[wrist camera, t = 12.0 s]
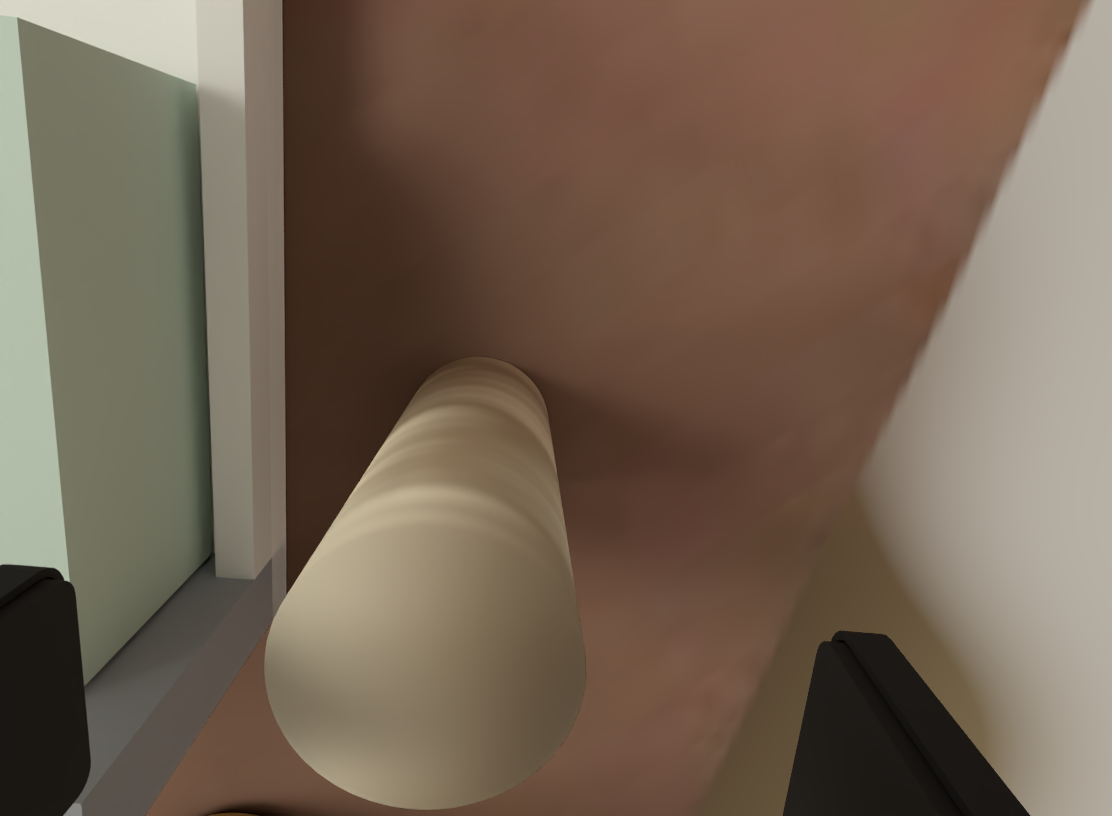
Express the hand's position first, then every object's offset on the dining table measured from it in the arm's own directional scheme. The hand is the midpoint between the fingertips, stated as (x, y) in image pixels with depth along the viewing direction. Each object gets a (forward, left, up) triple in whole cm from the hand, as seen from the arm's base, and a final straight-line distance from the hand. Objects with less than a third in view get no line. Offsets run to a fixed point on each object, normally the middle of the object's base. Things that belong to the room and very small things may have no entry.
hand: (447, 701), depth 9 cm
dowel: (-1, 0, -12) cm, 12 cm away
